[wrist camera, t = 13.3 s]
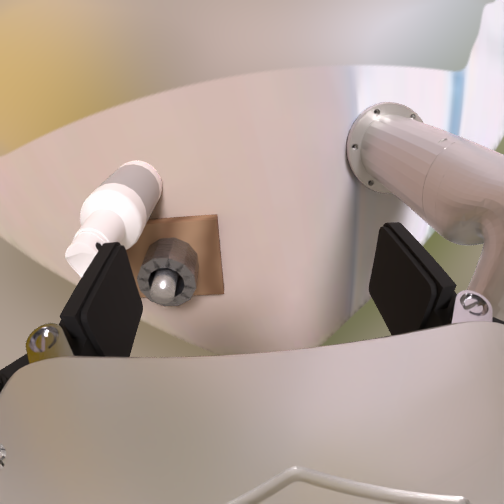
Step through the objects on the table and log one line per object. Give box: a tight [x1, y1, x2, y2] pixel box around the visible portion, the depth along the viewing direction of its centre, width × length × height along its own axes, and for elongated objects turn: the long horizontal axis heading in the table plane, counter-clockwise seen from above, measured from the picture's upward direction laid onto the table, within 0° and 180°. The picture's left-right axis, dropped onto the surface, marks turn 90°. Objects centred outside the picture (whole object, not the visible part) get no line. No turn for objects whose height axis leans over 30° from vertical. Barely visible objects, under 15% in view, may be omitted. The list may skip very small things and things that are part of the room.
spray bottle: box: [65, 160, 162, 278], centre depth 29 cm, size 7×7×18 cm
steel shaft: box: [150, 268, 179, 304], centre depth 39 cm, size 3×3×7 cm
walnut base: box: [126, 214, 224, 297], centre depth 42 cm, size 14×12×2 cm
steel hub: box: [137, 237, 199, 306], centre depth 39 cm, size 7×7×5 cm
